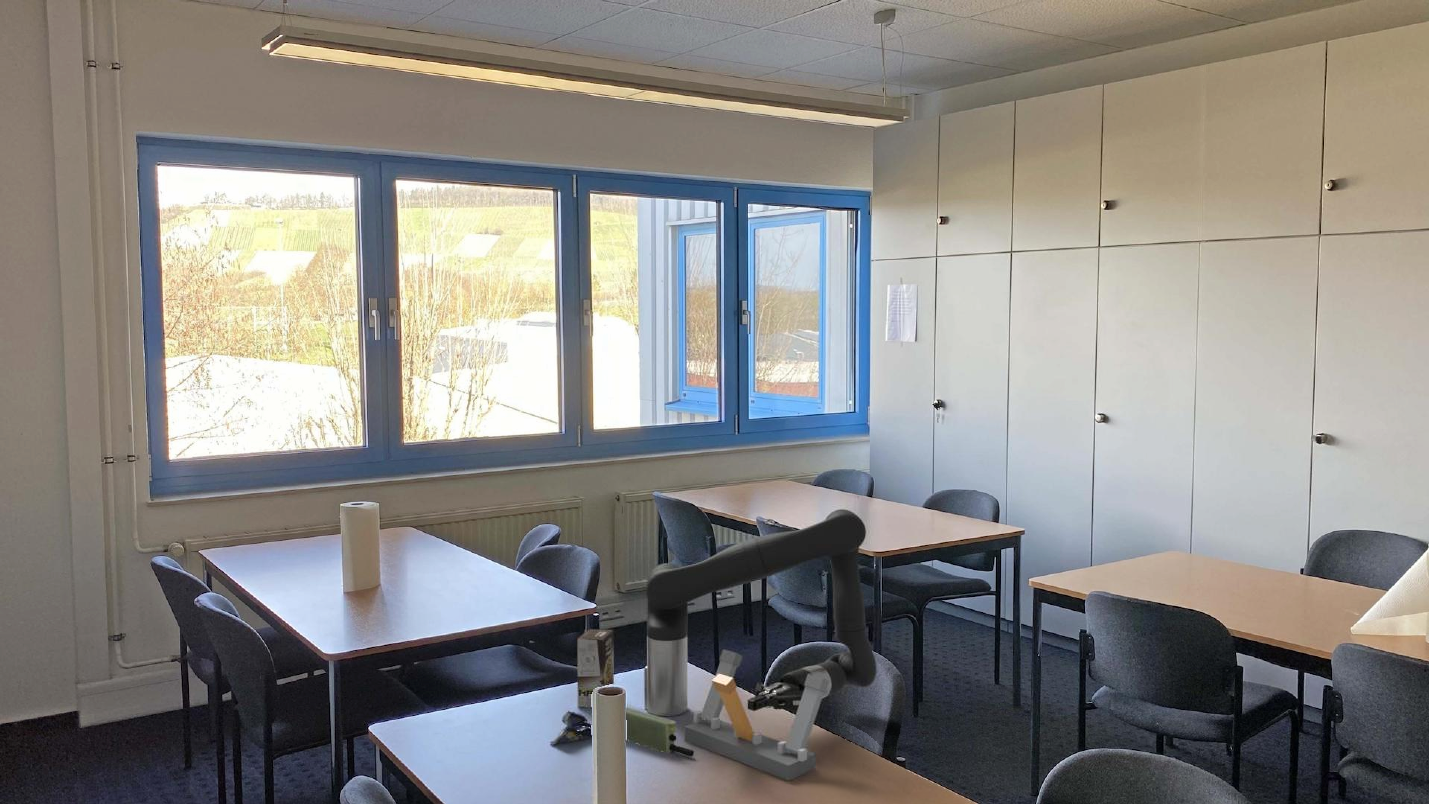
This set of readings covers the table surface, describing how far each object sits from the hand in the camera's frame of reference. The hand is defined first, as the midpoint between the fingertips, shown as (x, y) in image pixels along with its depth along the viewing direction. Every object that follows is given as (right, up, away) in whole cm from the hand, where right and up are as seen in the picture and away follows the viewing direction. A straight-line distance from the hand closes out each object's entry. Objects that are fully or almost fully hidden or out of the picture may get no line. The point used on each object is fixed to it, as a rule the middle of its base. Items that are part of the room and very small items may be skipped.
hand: (750, 705), depth 216 cm
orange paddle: (-1, -7, 0) cm, 7 cm away
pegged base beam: (-1, -10, 0) cm, 10 cm away
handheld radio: (-22, -10, +6) cm, 25 cm away
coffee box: (-35, -8, +32) cm, 48 cm away
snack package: (-37, -10, +10) cm, 39 cm away
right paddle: (+8, -7, -9) cm, 14 cm away
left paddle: (-9, -6, +8) cm, 14 cm away
